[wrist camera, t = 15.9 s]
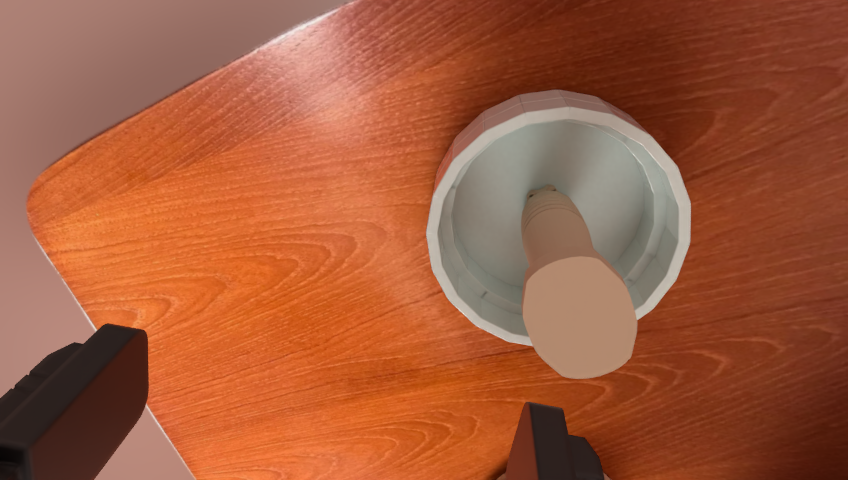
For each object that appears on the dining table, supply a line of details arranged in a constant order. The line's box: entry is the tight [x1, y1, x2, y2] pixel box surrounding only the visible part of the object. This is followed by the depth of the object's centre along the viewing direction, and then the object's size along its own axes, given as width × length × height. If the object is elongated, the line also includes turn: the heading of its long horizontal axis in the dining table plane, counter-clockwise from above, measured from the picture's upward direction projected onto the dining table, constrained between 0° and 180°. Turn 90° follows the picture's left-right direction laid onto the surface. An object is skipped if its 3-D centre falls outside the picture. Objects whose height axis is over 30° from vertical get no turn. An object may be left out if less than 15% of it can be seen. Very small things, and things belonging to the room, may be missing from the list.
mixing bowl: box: [426, 89, 691, 346], centre depth 40 cm, size 15×15×6 cm
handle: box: [521, 184, 637, 379], centre depth 35 cm, size 5×6×15 cm
